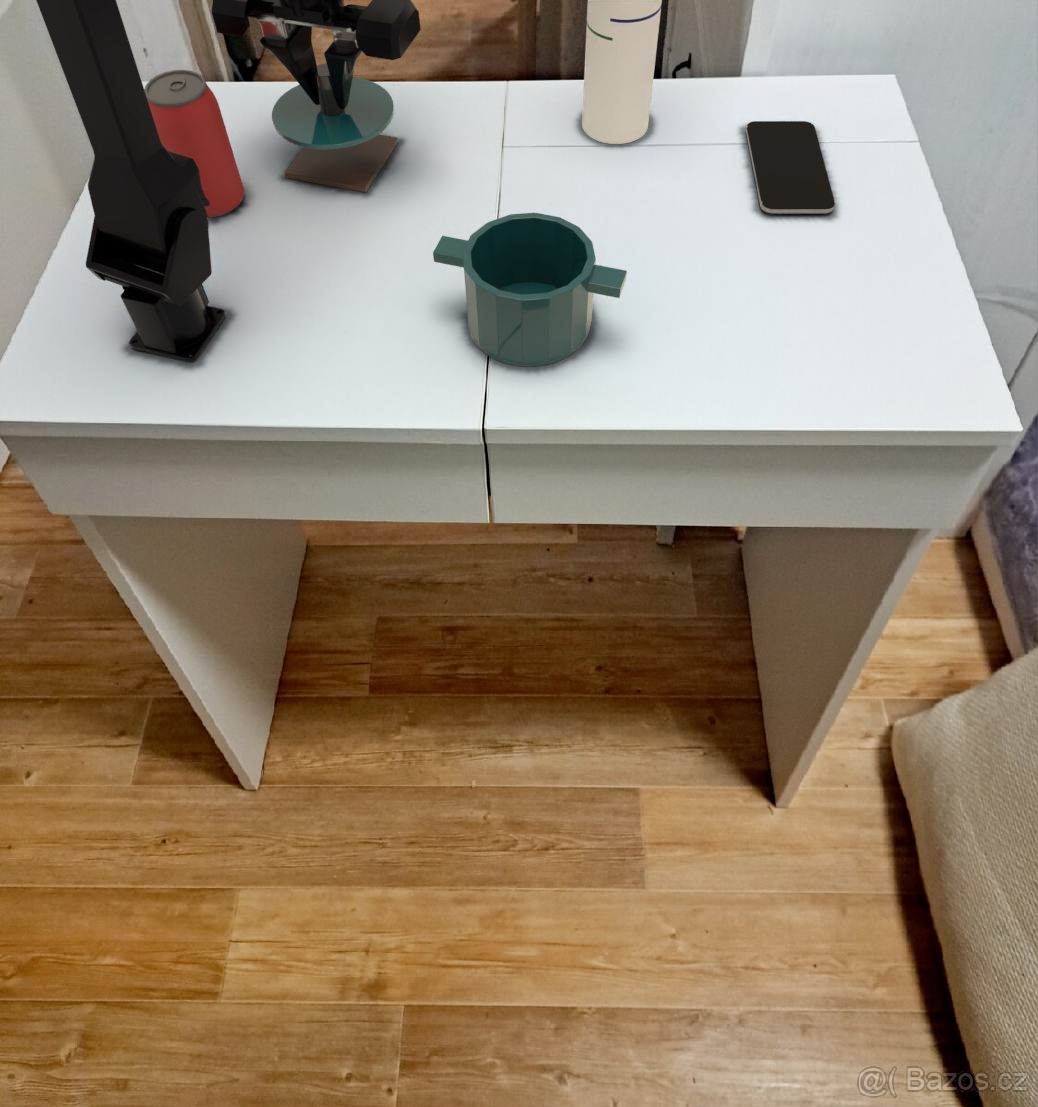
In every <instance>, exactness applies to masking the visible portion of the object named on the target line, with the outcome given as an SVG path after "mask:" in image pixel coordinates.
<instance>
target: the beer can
mask: <svg viewBox="0 0 1038 1107" xmlns="http://www.w3.org/2000/svg"><path fill="white" fill-rule="evenodd" d="M144 91H145V94H146V97H147V100H148V103H149V106H150V110H151V113H152V116H153V119H154V122H155V125H156V129H157V132H158V135H159V138H160V140H161V143H162V144H163V146H164V147H165V148H166V150H167V151H170V152H173V153H176V154H180V155H183V156H186V157H190V158H192V159H193V160H194V161H195V163H196V165H197V167H198V169H199V173H200V180H201V185H202V189H203V192H204V194H205V196H206V198H207V199H208V200H209V202H210V206H205V209H206V212H207V216H208V218H217V217H221V216H224V215H226V214H228V213H230V212H232V211H233V210H235V209H236V208H237V207H238V206H239V205H240V204H241V202H242V201H243V199H244V195H245V188H244V184H243V181H242V177H241V175H240V171H239V168H238V164H237V161H236V158H235V154H234V151H233V147H232V144H231V140H230V138H229V135H228V131H227V127H226V124H225V122H224V118H223V114H222V112H221V108H220V104H219V102H218V99H217V97H216V95H215V94H214V92H213V90H212V88H210V87H209V85H208V84H207V81H206V79H205V77H204V76H203V75H202V74H201V73H199V72H196V71H194V70H189V69H173V70H169V71H165V72H162V73H159V74H157V75H155V76H154V77H152V78H151V79H149V81H148V82H147V83H146V84H145V86H144Z"/></svg>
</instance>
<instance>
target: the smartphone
mask: <svg viewBox="0 0 1038 1107" xmlns="http://www.w3.org/2000/svg"><path fill="white" fill-rule="evenodd" d="M745 136H746V139H747V140H746V141H747V144H748V150H749V155H750V161H751V164H752V170H753V175H754V180H755V184H756V185H755V186H756V191H757V197H758V201H759V206H760V209H761V210H762V211H763V212H765V213H767V214H830V213H831V212H833V211H834V209H835V205H836V201H835V198H834V193H833V189H832V187H831V186H832V185H831V182H830V179H829V175H828V171H827V168H826V163H825V159H824V156H823V153H822V149H821V146H820V141H819V138H818V133H817V130H816V127H815V125H814V124H813V123H812V122H810V121H806V120H775V121H774V120H754V121H750V122H749V123H747V124H746V127H745Z"/></svg>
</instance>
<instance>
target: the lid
mask: <svg viewBox="0 0 1038 1107" xmlns="http://www.w3.org/2000/svg"><path fill="white" fill-rule="evenodd" d="M313 75H314V80H315V85H316V90H317V94H318V99H319V105H315V104H314V103H313V101H312V100H311V99H310V97H309V96H308V95H307V93H306V92H305V91H304V90H303V88H302V87H301V86H300V84H297V85H296V86H294V87H291V88H290V89H289V90H287V91H286V92H284V93H283V94H282V95H281V96H280V97H279V98H278V99H277V100H276V101H275V103H274V105H273V107H272V111H271V121H272V124H273V128H274V129H275V131H276V133H277V134H278V135H279V136H280V137H281V138H282V139H284V140H285V141H287V142H288V143H291V144H293V145H295V146H299V147H302V148H303V147H305V148H311V149H321V150H329V149H341V148H346V147H351V146H355V145H358V144H361V143H364V142H366V141H368V140H370V139H372V138H374V137H375V136H377V135H378V134H380V135H381V134H382V133H383V132H384V131H385V130H386V129H387V128H388V127H389V125H390V124H391V122H392V120H393V119H394V116H395V105H394V100H393V98H392V96H391V95H390V92H389V91H388V90H387V89H386V88H384V87H383V86H381V85H380V84H378V83H377V82H374V81H372V80H369V79H366V78H362V77H356V76H353V79H352V84H351V90H350V96H349V101H348V105H347V106H346V108H345V109H341V108H340V106H339V104H338V102H337V99H336V96H335V92H334V89H333V85H332V81H331V78H330V74H329V70H328V66H327V63H320V64H318V65H317V66H316V67H315V68H314V69H313Z"/></svg>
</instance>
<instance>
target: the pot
mask: <svg viewBox="0 0 1038 1107" xmlns="http://www.w3.org/2000/svg"><path fill="white" fill-rule="evenodd" d="M432 255H433V262H434V263H438V264H444V265H448V266H454V267H458V268H462V269H463V274H464V289H465V300H466V312H467V313H466V315H467V324H468V331H469V334H470V337H471V340H472V341H473V342H474V344H475V346H477V348H478V349H479V350H480V351H482V352H483V353H484V354H485V355H486V356H488V357H490V358H492V359H494V360H496V361H498V362H501V363H503V364H507V365H511V366H518V367H540V366H547V365H550V364H554V363H558V362H560V361H562V360H565V359H567V358H568V357H570V356H571V355H573V354H574V353H576V351H578V350H579V349H580V348H581V347H582V346H583V344H584V343H585V342H586V340H587V338H588V336H589V334H590V330H591V324H592V322H593V305H594V294H596V295H601V296H606V297H611V298H616V299H620V298H621V296H622V293H623V290H624V287H625V283H626V281H627V277H628V270H625V269H620V268H615V267H610V266H605V265H600V264H596V262H597V258H596V252H595V247H594V243H593V241H592V239H591V238H589V236H588V235H587V234H586V233H585V232H584V231H583V229H581V227H580V226H578V225H576V224H575V223H572V222H570V221H568V220H566V219H564V218H562V217H560V216H555V215H551V214H544V213H540V212H523V213H510V214H507V215H504V216H501V217H499V218H496V219H493V220H490V221H488V222H486V223H485V224H484V225H482V226H480V227H479V228H478V229H477V230H475V232H473V233H472V234H471V235H470V236H469V237H468V239H461V238H457V237H451V236H447V235H442V236H441V237H440V239H439V240H438V242H437V245H436V246H435V248H434V250H433V251H432Z"/></svg>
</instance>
